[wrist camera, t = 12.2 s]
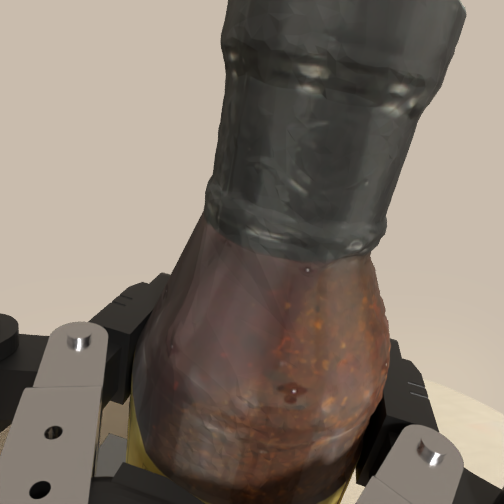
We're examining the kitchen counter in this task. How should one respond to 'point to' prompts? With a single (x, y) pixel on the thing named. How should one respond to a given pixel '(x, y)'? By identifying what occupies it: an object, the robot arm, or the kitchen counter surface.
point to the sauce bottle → (288, 253)
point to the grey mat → (111, 455)
